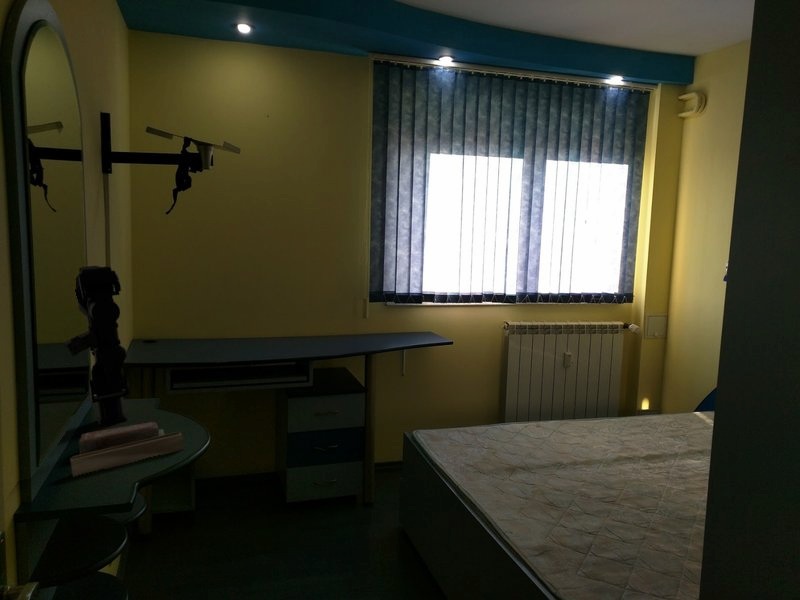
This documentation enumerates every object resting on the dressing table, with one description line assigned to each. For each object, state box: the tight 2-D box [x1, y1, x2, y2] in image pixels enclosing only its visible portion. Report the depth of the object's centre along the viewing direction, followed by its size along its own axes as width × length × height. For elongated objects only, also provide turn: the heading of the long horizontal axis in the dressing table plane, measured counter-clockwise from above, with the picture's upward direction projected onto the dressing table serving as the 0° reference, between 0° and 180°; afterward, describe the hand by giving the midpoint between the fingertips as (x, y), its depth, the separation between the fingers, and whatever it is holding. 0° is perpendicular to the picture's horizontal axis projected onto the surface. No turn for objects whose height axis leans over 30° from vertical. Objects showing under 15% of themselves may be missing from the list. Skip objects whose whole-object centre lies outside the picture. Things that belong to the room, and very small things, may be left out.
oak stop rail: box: [69, 431, 185, 478], centre depth 127 cm, size 2×22×4 cm, turn 122°
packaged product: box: [78, 421, 165, 455], centre depth 135 cm, size 18×5×10 cm
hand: (111, 382), depth 142 cm, fingers open, 8 cm apart
